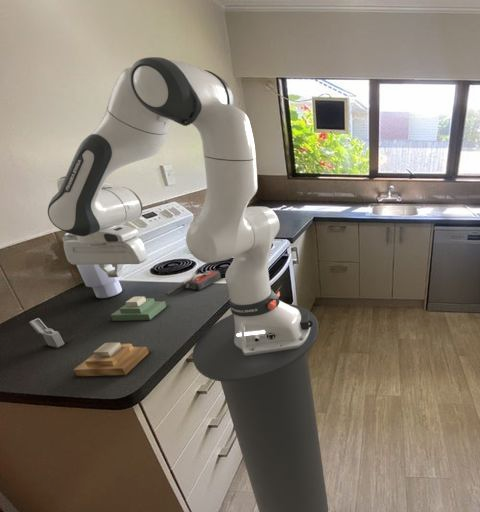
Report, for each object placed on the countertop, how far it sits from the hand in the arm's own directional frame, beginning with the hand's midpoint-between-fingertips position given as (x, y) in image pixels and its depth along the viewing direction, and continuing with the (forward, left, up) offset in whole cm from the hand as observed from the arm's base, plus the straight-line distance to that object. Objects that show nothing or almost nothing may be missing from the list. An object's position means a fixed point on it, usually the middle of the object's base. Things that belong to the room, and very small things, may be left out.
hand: (115, 276), depth 86 cm
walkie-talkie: (-6, -24, -17) cm, 30 cm away
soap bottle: (+24, -19, -17) cm, 35 cm away
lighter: (+16, +10, -17) cm, 25 cm away
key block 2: (-9, +19, -17) cm, 27 cm away
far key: (+2, -5, -13) cm, 14 cm away
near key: (-9, +19, -13) cm, 25 cm away
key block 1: (+2, -5, -17) cm, 18 cm away
